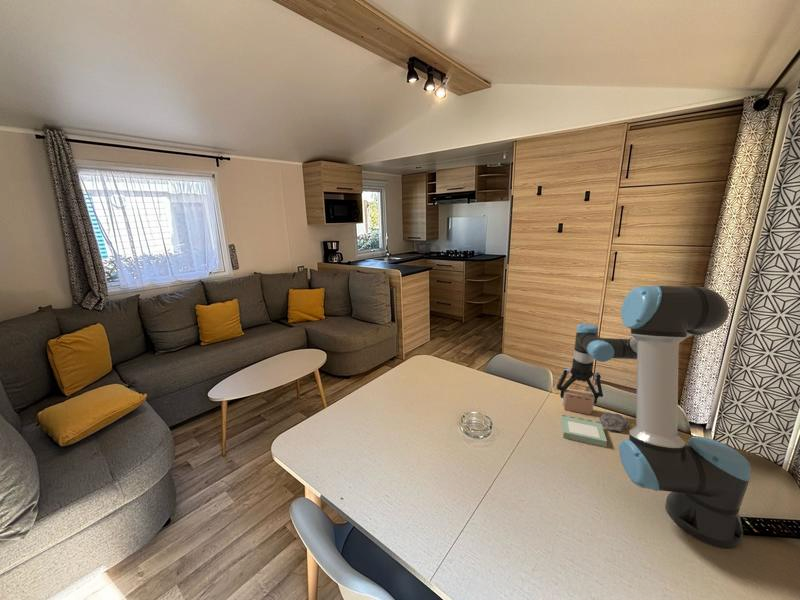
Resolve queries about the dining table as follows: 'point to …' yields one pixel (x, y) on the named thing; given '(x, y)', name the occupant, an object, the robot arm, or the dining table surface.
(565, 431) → the green picture frame
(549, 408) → the dining table surface
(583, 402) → the pinkish brown box
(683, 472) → the robot arm
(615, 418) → the rock
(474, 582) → the dining table surface
